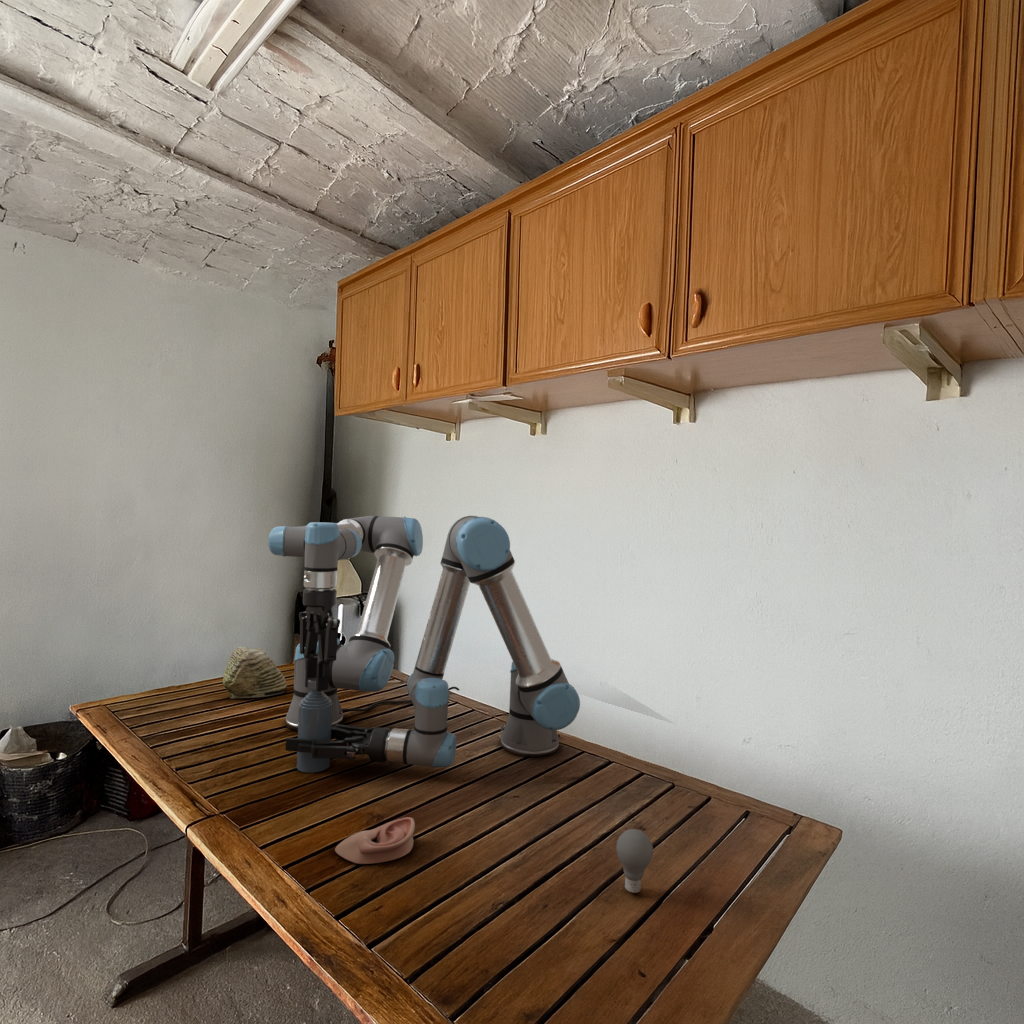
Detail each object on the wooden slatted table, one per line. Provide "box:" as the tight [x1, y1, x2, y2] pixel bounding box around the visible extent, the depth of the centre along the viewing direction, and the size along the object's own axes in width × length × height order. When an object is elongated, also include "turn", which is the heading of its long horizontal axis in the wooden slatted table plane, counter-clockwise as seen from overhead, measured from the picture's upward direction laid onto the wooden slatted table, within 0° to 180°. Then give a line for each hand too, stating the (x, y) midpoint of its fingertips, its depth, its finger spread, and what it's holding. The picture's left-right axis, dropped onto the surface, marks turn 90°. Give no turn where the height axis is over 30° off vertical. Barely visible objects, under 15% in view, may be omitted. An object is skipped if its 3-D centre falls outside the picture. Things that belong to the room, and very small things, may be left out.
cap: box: [307, 676, 317, 690], centre depth 148 cm, size 4×4×2 cm
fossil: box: [222, 646, 288, 699], centre depth 198 cm, size 9×18×15 cm, turn 132°
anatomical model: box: [334, 816, 416, 865], centre depth 115 cm, size 13×4×12 cm
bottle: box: [296, 689, 332, 774], centre depth 149 cm, size 8×8×20 cm
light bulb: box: [615, 828, 654, 894], centre depth 106 cm, size 6×6×10 cm
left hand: (316, 687), depth 148 cm, fingers closed on cap, 4 cm apart
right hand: (294, 737), depth 149 cm, fingers closed on bottle, 8 cm apart
